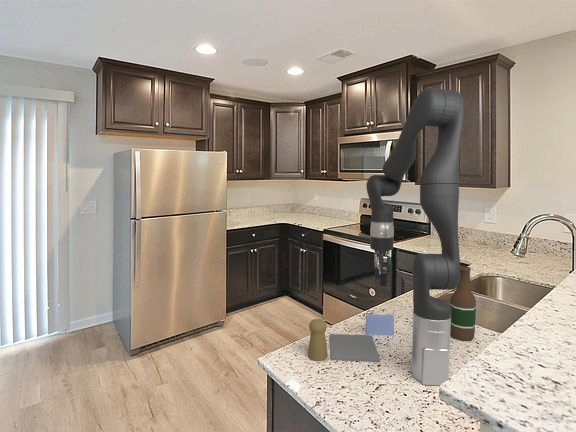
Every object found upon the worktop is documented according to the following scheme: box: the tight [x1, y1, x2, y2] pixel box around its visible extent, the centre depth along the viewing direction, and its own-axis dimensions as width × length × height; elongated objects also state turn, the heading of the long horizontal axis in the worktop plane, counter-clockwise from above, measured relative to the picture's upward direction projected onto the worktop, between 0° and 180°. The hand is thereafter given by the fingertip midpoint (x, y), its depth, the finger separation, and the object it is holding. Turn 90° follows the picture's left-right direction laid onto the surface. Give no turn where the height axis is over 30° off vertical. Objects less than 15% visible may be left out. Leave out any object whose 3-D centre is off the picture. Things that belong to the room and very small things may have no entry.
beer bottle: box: [449, 265, 477, 342], centre depth 114 cm, size 8×8×24 cm
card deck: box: [365, 313, 395, 336], centre depth 117 cm, size 2×9×6 cm, turn 85°
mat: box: [329, 333, 381, 363], centre depth 107 cm, size 16×14×1 cm
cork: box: [307, 318, 329, 362], centre depth 102 cm, size 6×6×11 cm
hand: (380, 282), depth 116 cm, fingers open, 8 cm apart
